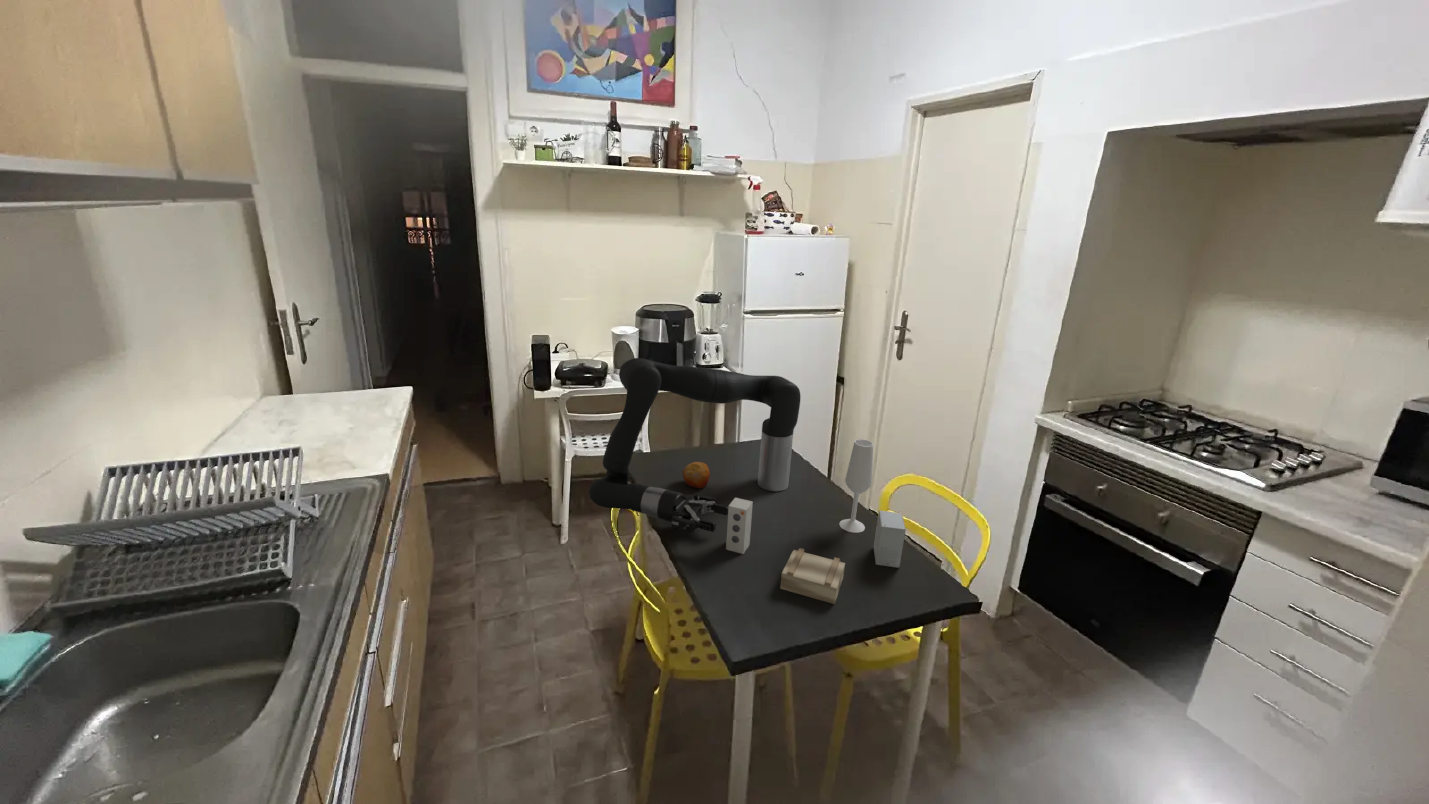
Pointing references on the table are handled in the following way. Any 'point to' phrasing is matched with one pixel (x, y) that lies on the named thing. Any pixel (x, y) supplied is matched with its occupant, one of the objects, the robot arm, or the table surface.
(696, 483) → the fruit
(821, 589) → the brown wooden ridged block
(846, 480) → the champagne flute
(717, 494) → the table surface
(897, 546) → the small box
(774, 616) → the table surface
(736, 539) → the tall grey box
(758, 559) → the table surface
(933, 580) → the table surface
